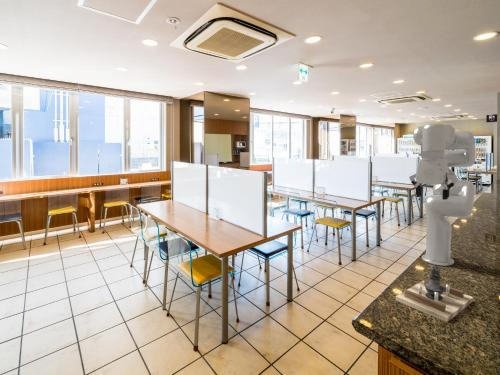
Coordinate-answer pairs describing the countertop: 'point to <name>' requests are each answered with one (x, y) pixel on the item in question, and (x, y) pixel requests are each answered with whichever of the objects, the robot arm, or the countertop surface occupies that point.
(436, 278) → the weathered chess pawn
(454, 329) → the countertop surface
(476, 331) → the countertop surface
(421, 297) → the pin stand
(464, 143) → the robot arm
